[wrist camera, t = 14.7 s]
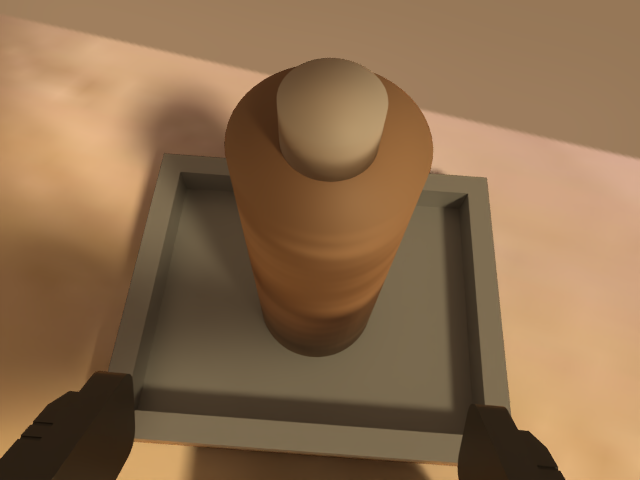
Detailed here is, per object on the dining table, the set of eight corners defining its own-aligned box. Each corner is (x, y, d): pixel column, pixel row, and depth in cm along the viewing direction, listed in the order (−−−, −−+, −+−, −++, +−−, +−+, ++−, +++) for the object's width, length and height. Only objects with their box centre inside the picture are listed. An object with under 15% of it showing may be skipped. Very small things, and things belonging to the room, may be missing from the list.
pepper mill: (371, 257, 24) (443, 26, 12) (369, 361, 21) (455, 208, 9) (268, 249, 24) (233, 10, 12) (255, 352, 21) (194, 188, 9)
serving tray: (471, 203, 26) (486, 177, 24) (492, 468, 20) (516, 467, 18) (175, 181, 26) (164, 153, 24) (114, 440, 21) (91, 435, 18)
